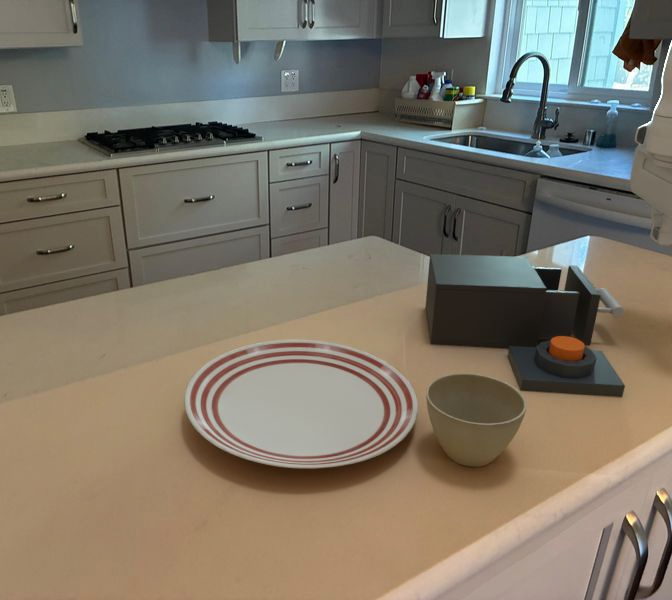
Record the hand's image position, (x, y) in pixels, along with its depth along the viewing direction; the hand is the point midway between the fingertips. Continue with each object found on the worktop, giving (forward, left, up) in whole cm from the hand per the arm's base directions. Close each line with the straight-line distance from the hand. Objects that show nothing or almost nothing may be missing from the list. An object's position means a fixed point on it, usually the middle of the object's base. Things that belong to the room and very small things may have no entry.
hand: (660, 241), depth 84 cm
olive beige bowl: (+28, +31, -15) cm, 44 cm away
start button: (+14, +13, -11) cm, 22 cm away
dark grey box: (+23, 0, -15) cm, 27 cm away
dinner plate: (+47, +26, -15) cm, 55 cm away
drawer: (+13, 0, -14) cm, 19 cm away
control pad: (+14, +13, -15) cm, 24 cm away
